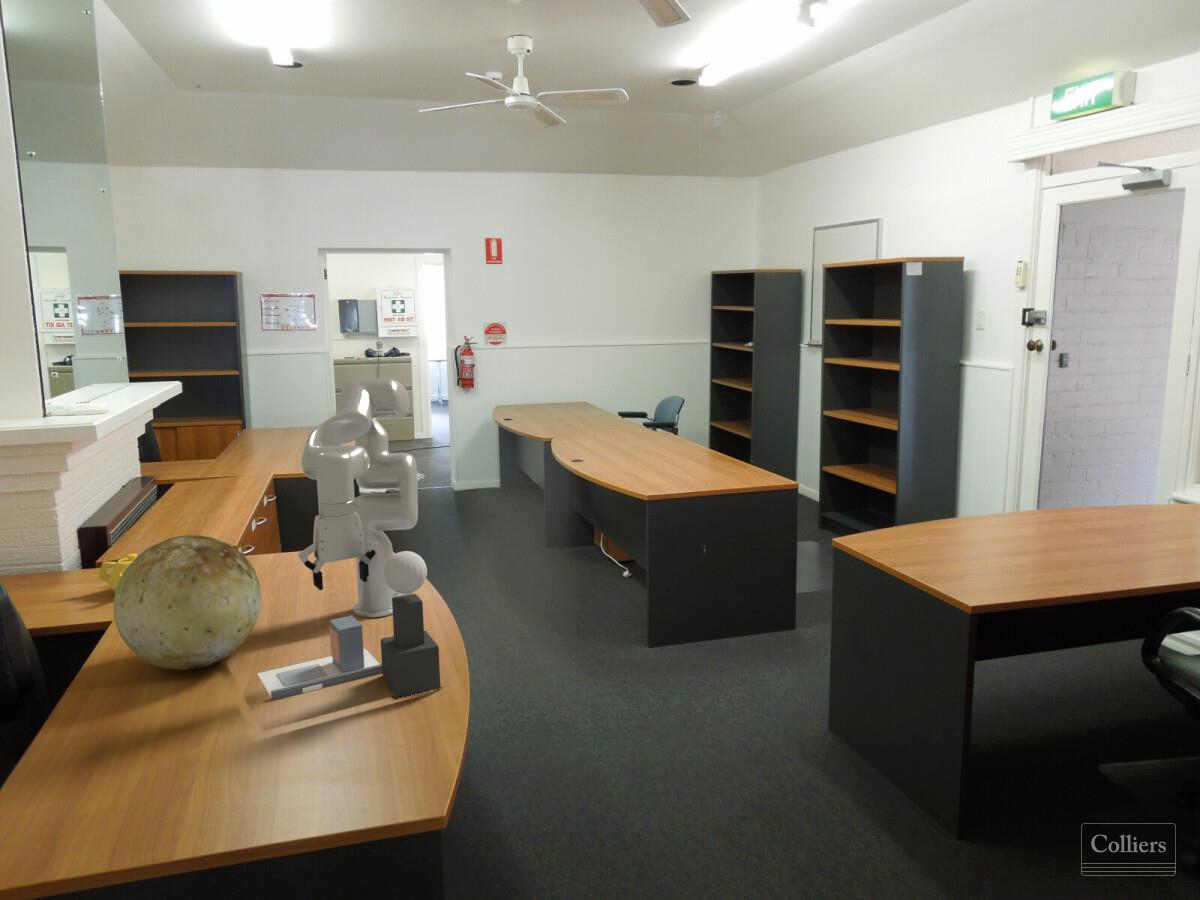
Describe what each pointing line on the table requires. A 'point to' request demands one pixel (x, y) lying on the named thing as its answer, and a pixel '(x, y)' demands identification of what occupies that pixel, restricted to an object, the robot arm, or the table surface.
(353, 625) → the box
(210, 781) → the table surface
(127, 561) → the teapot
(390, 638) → the sculpture
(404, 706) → the table surface
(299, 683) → the shelf board
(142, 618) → the speckled stone ball
